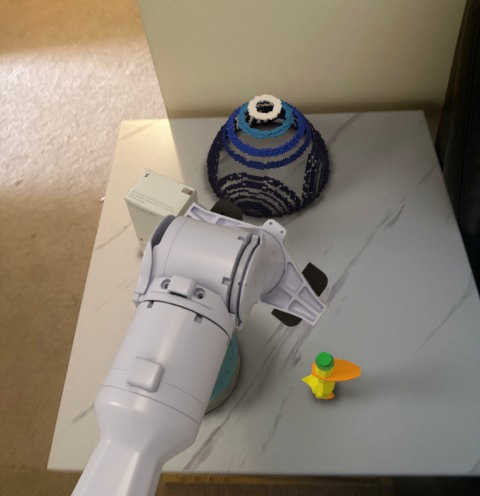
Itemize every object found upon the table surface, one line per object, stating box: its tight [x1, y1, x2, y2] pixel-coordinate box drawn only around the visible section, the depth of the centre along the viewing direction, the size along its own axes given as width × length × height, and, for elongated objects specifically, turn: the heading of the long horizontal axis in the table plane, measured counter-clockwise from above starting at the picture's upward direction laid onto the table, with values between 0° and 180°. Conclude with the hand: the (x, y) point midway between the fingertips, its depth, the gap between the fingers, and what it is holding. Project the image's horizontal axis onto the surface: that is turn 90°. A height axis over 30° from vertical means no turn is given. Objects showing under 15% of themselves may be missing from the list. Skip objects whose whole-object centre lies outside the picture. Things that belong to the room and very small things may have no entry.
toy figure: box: [300, 350, 362, 400], centre depth 66 cm, size 7×4×12 cm, turn 85°
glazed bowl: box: [205, 331, 241, 414], centre depth 73 cm, size 13×13×4 cm
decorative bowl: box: [206, 93, 331, 219], centre depth 88 cm, size 20×20×14 cm
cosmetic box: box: [123, 168, 199, 255], centre depth 80 cm, size 8×6×15 cm
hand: (270, 258), depth 56 cm, fingers open, 7 cm apart
